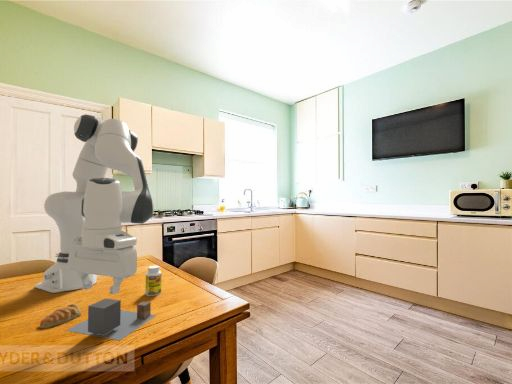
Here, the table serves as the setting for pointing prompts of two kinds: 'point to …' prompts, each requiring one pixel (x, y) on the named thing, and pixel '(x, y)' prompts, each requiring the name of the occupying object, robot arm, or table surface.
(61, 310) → the pastry
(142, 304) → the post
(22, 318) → the table surface
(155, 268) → the supplement bottle
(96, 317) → the dark gray block
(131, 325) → the mat
